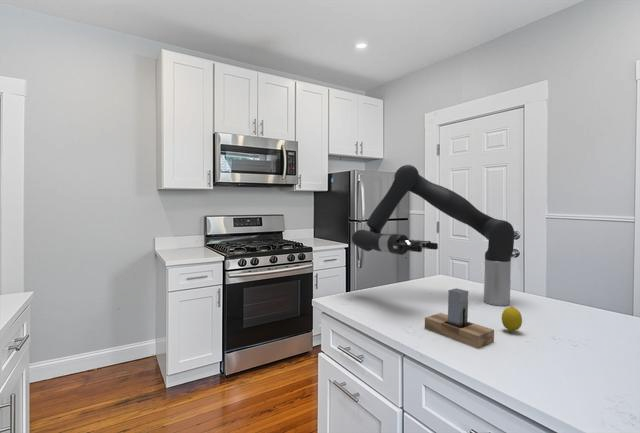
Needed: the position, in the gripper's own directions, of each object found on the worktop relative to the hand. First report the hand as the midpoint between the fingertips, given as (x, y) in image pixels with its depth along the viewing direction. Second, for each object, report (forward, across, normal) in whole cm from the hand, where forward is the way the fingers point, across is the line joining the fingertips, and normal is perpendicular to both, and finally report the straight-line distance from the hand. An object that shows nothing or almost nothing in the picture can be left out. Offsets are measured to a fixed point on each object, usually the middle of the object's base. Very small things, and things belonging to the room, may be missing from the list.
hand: (429, 247), depth 116 cm
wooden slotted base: (+13, -5, +25) cm, 29 cm away
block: (+13, -5, +23) cm, 27 cm away
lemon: (+21, +11, +26) cm, 35 cm away
